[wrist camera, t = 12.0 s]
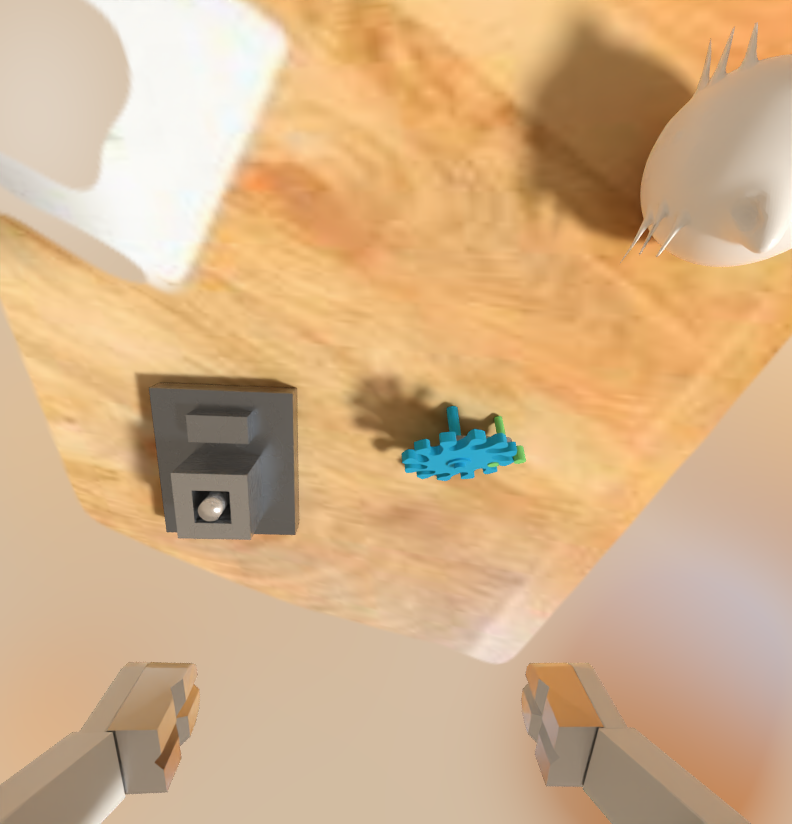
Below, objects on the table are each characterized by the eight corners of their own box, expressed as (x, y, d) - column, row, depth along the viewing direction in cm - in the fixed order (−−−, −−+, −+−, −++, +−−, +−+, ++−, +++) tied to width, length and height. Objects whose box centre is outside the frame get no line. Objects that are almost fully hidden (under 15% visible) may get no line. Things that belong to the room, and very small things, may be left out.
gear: (392, 486, 39) (418, 444, 31) (389, 429, 42) (412, 376, 33) (500, 487, 41) (553, 448, 33) (491, 433, 44) (537, 384, 35)
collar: (191, 453, 37) (170, 472, 33) (260, 455, 37) (246, 475, 33) (197, 513, 39) (178, 538, 35) (263, 514, 39) (250, 539, 35)
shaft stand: (160, 382, 37) (117, 402, 31) (296, 388, 38) (280, 408, 31) (176, 520, 41) (140, 562, 35) (299, 523, 42) (285, 565, 35)
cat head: (710, 304, 37) (864, 313, 25) (577, 262, 36) (676, 251, 24) (799, 117, 33) (1031, 25, 21) (653, 60, 31) (817, -73, 20)
